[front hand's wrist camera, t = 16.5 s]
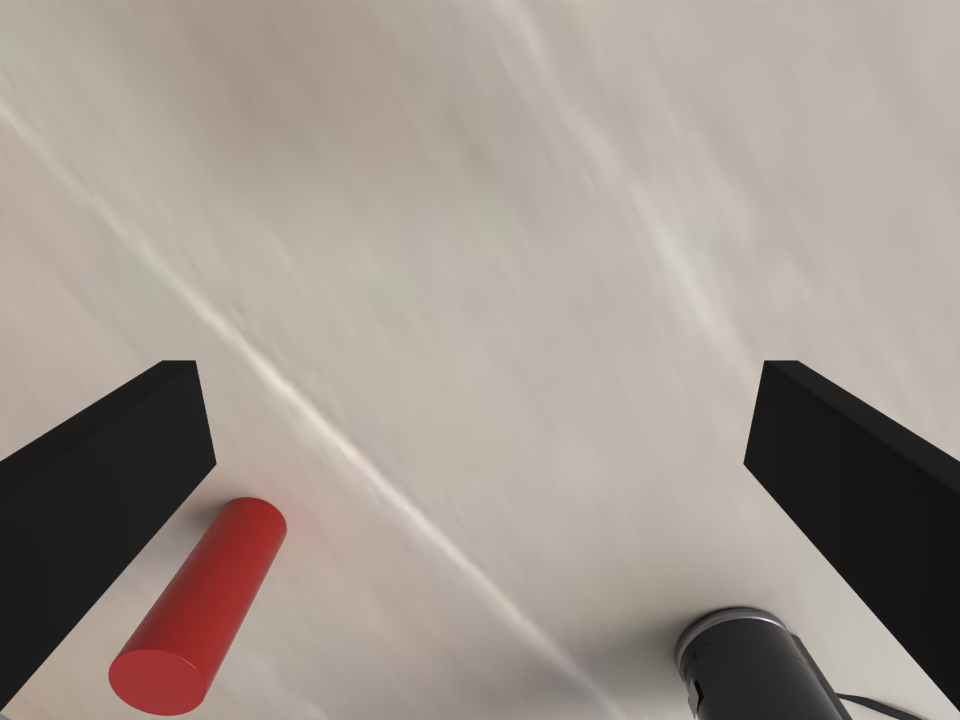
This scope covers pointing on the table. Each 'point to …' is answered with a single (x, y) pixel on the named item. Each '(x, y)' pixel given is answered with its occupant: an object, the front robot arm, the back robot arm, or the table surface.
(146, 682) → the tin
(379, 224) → the table surface
